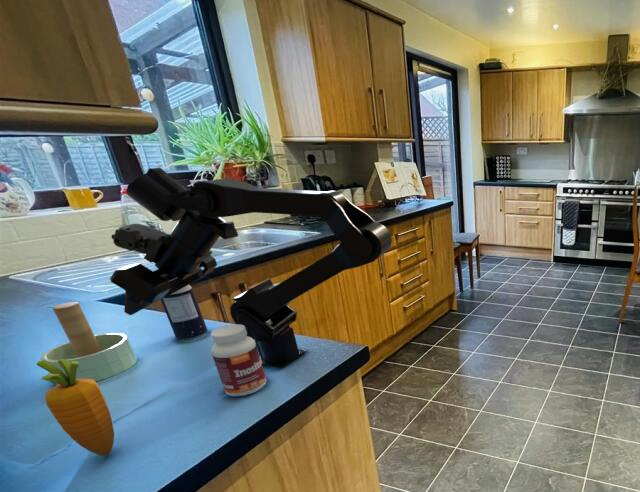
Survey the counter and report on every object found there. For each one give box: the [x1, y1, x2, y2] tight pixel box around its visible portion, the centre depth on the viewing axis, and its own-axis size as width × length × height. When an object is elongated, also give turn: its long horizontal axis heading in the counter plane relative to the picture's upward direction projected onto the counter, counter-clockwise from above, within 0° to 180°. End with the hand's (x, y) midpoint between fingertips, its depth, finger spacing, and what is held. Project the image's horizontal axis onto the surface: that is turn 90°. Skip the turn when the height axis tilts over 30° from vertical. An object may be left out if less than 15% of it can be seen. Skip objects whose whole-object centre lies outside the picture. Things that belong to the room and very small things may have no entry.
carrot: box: [36, 359, 115, 457], centre depth 51 cm, size 5×5×15 cm
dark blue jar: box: [160, 284, 208, 341], centre depth 86 cm, size 6×6×12 cm
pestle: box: [51, 301, 103, 358], centre depth 72 cm, size 5×5×13 cm
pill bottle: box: [210, 323, 267, 397], centre depth 67 cm, size 6×6×11 cm
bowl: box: [40, 332, 138, 386], centre depth 74 cm, size 11×11×6 cm
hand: (147, 303), depth 72 cm, fingers open, 9 cm apart
